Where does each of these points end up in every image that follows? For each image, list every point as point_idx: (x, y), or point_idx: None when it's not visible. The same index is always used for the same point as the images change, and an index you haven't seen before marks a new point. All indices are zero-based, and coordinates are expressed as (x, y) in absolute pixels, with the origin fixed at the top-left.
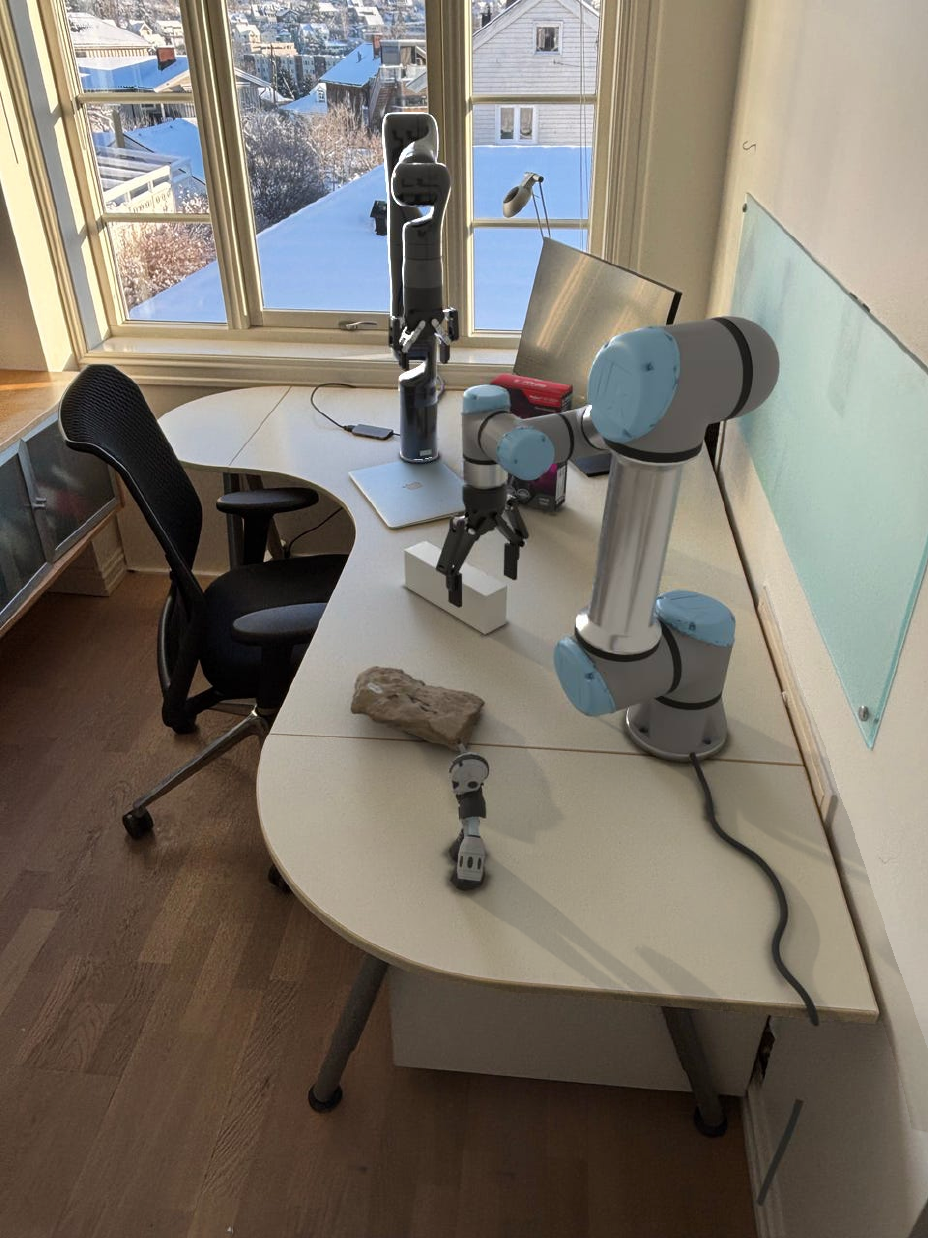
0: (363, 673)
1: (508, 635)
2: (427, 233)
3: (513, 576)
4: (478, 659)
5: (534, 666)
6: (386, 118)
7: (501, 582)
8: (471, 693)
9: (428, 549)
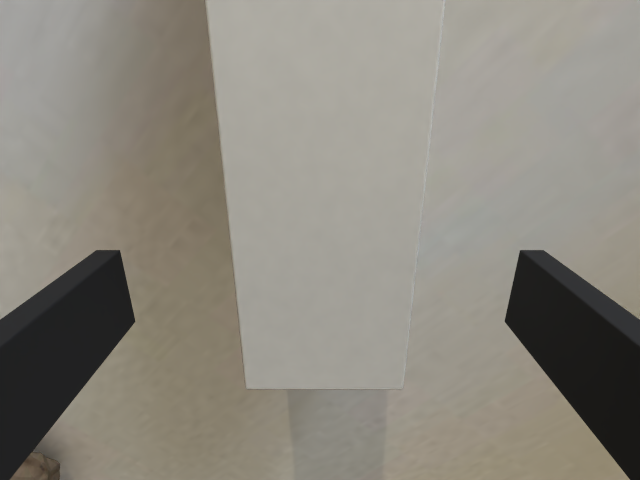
0: None
1: None
2: None
3: (516, 330)
4: (175, 342)
5: (278, 439)
6: None
7: (404, 356)
8: (28, 475)
9: None
